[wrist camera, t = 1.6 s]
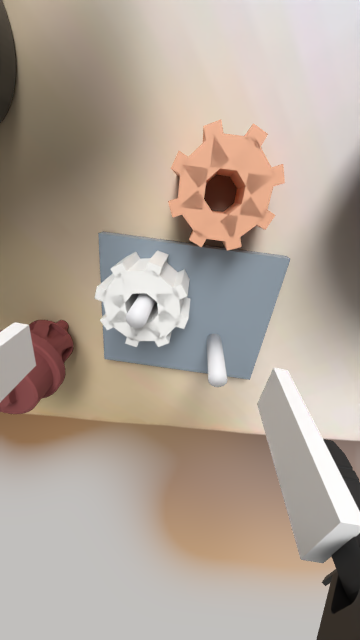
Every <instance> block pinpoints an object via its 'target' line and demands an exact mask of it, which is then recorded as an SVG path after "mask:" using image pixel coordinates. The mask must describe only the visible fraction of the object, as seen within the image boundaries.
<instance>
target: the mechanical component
mask: <svg viewBox="0 0 360 640" xmlns="http://www.w3.org/2000/svg"><path fill="white" fill-rule="evenodd" d="M29 328H30V334H31V339H32V345H33V350H34V356H35V362H36V366H35V367H34V368H33V369H32V370H31V371H30V372H29V373H28V374H27V375H26V376H25V377H24V378H23V379H22V380H21V381H20V383H19V384H18V385H17V386H16V387H15V388H14V389H13V390H12V391H11V392H10V393H9V394H8V395H7V396H6V397H5V398H4V399H3V400H2V401H1V402H0V412H4V413H9V414H23V413H26V412H29V411H31V410H32V409H33V408H34V407H35V406H36V405H37V403H38V402H39V401H40V400H41V398H45V397H48V396H50V395H52V394H53V393H55V392H56V390H57V389H58V388H59V387H60V385H61V384H62V382H63V381H64V378H65V366H64V362H65V361H66V360H67V358H68V357H69V356H70V355H71V353H72V351H73V341H72V338H71V336H70V335H69V333H68V332H67V329H68V324H67V322H65V321H63V320H60V321H58V322H57V323H54V322H52V321H48V320H37V321H34V322H32V323H31V324H29ZM1 331H2V330H1ZM1 331H0V332H1Z"/></svg>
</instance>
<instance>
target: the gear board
mask: <svg viewBox="0 0 360 640" xmlns="http://www.w3.org/2000/svg"><path fill="white" fill-rule="evenodd" d="M156 251H160V252H163V253H166V254H168V255H169V256H168V259H167V263H168V264H169V265H170V266H171V267H173V268H174V269H175V270H176V271H177V272H179V271H182V270H184V269H185V271H186V273H187V275H188V277H189V279H190V281H189V288H188V296H187V298H190V308H189V318H188V321H187V323H186V326H185V328H184V329H182V328H179V327H175V328H174V329H173V330H172V332H171V337H170V341H169V343H168V344H165V345H163V346H160V347H158V346H157V344H156V343H155V341H139V343H138V346H137V347H134V346H131V345H128V344H125V342H126V338H127V337H126V336H125V335H123V334H122V333H121V332H119V331H118V330H117V329H115V328H111V329H109V330H106V328H105V327H104V325H103V338H104V359H108V360H116V361H123V362H130V363H137V364H144V365H151V366H158V367H165V368H172V369H179V370H186V371H193V372H200V373H207V374H208V381H209V383H210V384H211V385H212V386H214V387H221V386H224V385H225V384H226V383H227V376H228V377H235V378H242V379H249V380H250V377H251V374H252V371H253V369H254V366H255V363H256V360H257V357H258V354H259V351H260V348H261V345H262V342H263V339H264V336H265V333H266V330H267V327H268V324H269V321H270V318H271V315H272V312H273V309H274V306H275V303H276V300H277V297H278V294H279V291H280V288H281V285H282V282H283V279H284V277H285V274H286V271H287V268H288V265H289V262H290V258H288V257H287V256H282V255H275V254H267V253H260V252H252V251H245V250H237V249H232V250H228V251H227V250H226V248H222V247H215V246H207V245H203V246H202V247H200V246H198V245H197V244H192V243H185V242H177V241H170V240H162V239H155V238H147V237H140V236H132V235H125V234H117V233H110V232H101V233H99V254H100V275H101V283H102V282H103V281H104V280H105V279H107V278H108V277H109V276H110V275H111V274H113V273H112V271H111V268H112V267H113V266H115V265H116V264H117V263H119V262H120V261H121V260H122V259H124V258H125V257H126V256H128V255H130V254H132V253H134V252H137V254H138V256H139V257H140V259H142V258H151V257H152V256H153V255H154V254H155V253H156ZM155 303H157V302H156V301H155V300H154V299H153V298H152V297H150V296H149V295H148V294H147V293H139V296H138V297H137V299H136V300H135V302H134V303H133V305H132V307H131V308H130V310H129V311H128V313H127V315H126V321H127V323H128V324H129V325H130V326H131V327H133V328H141V327H143V326H144V325H145V324H146V322H147V320H148V317H149V315H150V313H151V310H152V308H153V306H154V304H155ZM105 313H106V312H105V308H104V303H103V301H102V317H103V316H104V314H105Z"/></svg>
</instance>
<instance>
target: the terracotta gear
mask: <svg viewBox="0 0 360 640" xmlns="http://www.w3.org/2000/svg"><path fill="white" fill-rule="evenodd" d="M267 135H268V134H267V133H266V132H264V131H263V130H262V129H260V128H259V127H257V126H256V125H255V124H253V125H252V126H251V127H250V129H249V130H248V132H247V133H246V135H245V136H239V135H231V134H223V128H222V121H221V120H218V121H216V122H213V123H210V124H208V125H205V126H203V143H202V144H201V145H200V146H199V147H198V148H197V149H196V150H195V151H194V152H193V153H192V154H191V155H190V156H189V157H188V156H186V155H185V154H183V153H182V152H180V151H178V154H177V156H176V158H175V160H174V162H173V165H172V167H171V169H172V170H173V171H174V172H175V173H176V174H177V175H178V176H180V181H179V192H178V198H177V199H173V200H170V201H168V202H169V206H170V210H171V213H172V217H176V216H179V215H183V217H184V218H185V219H186V221H187V222H188V224H189V225H190V226H191V228H192V229H193V230H192V232H191V235H190V238H189V240H190V241H192V242H193V243H195V244H197V245H198V246H200V247H202V246H203V244H204V242H205V241H206V239H212V240H219V241H222V242H223V244H224V246H225V248H226V250H227V251H228V250H232V249H236V248H239V247H242V246H241V240H240V237H241V236H242V235H244V234H245V233H246V232H248V231H249V230H251V229H252V228H253V227H255V226H258V227H260V228H263V229H265V230H266V228H267V227H268V225H269V224H270V222H271V221H272V219H273V218H274V217H275V215H274V214H273V213H271V212H270V211H268V210H267V209H268V205H269V201H270V197H271V193H272V190H273V186H276V185H280V184H283V183H284V169H283V164H281V165H278V166H275V167H271V166H270V164H269V162H268V160H267V158H266V156H265V154H264V152H263V151H262V149H261V145H262V143H263V142H264V140H265V138H266V137H267ZM215 175H224V176H230V178H231V179H232V181H233V183H234V184H235V186H236V188H237V190H236V195H235V200H234V203H233V204H232V205H231V206H230V207H228V208H227V209H226V210H225V211H223V212H220V211H213V210H211V209H210V208H209V206H208V205H207V203H206V202H205V200H204V194H205V187H206V183H207V182H208V181H210V180H211V179H212V178H213V177H214V176H215Z"/></svg>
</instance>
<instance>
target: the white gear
mask: <svg viewBox="0 0 360 640" xmlns="http://www.w3.org/2000/svg"><path fill="white" fill-rule="evenodd" d="M168 256H169V255H168V254H166V253H163V252H160V251H156V253H155V254H154V255H153V256H152V257H151V258H142V259H140V257H139V256H138V254H137V252H134V253H132V254H130V255H128V256H126V257H125V258H124V259H122V260H121V261H120V262H119V263H117V264H116V265H115V266H113V267H112V268H111V271H112V273H113V274H111V275H110V276H109V277H108V278H107V279H105V280H104V281H103V282H102V283H101V284H100V285H98V286H97V288H96V294H95V299H97V300H100V301H103V303H104V308H105V312H106V313H105V314H104V316H103V317H102V318H101V319H100V321H101V322H102V324H103V325H104V327H105V328H106V330H109V329H111V328H115V329H117V330H118V331H119V332H121V333H122V334H123V335H125V336H126V337H127V338H126V342H125V344H128V345H131V346H134V347H137V346H138V343H139V341H155V343H156V344H157V346H158V347H160V346H163V345H165V344H168V343H169V341H170V337H171V332H172V330H173V329H174V328H175V327H179V328H182V329H184V328H185V326H186V323H187V321H188V318H189V308H190V298H187V296H188V288H189V281H190V279H189V277H188V275H187V273H186V271H185V269H184V270H182V271H179V272H177V271H176V270H175V269H174V268H173V267H171V266H170V265H169V264H168V263H167V259H168ZM139 293H147V294H148V295H149V296H150V297H152V298H153V299H154V300H155V301H156V302H157V303H155V304H154V306H153V308H152V310H151V313H150V315H149V317H148V320H147V322H146V324H145V325H144V326H143V327H141V328H133V327H131V326H130V325H129V324H128V323H127V321H126V315H127V313H128V311H129V310H130V308H131V307H132V305H133V303H134V302H135V300H136V299H137V297H138V296H139Z"/></svg>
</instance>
